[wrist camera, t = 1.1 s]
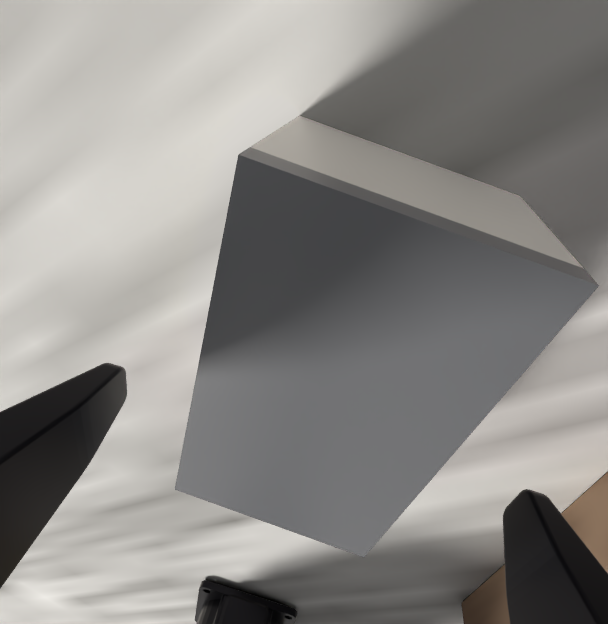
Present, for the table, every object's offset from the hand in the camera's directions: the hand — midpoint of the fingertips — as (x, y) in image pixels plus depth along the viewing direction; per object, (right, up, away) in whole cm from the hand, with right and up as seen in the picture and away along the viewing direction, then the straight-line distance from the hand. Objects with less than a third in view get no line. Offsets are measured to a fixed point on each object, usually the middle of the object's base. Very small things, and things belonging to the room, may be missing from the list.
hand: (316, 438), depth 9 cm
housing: (+1, +3, +4) cm, 6 cm away
